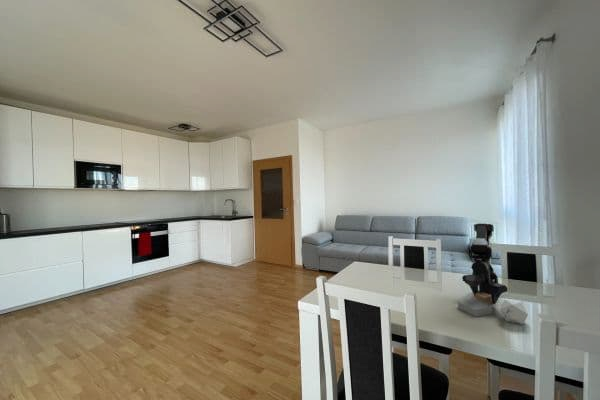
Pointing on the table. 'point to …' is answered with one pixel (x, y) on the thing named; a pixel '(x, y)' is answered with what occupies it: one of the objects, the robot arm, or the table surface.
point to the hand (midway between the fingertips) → (484, 300)
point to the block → (484, 298)
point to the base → (475, 307)
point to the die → (513, 311)
